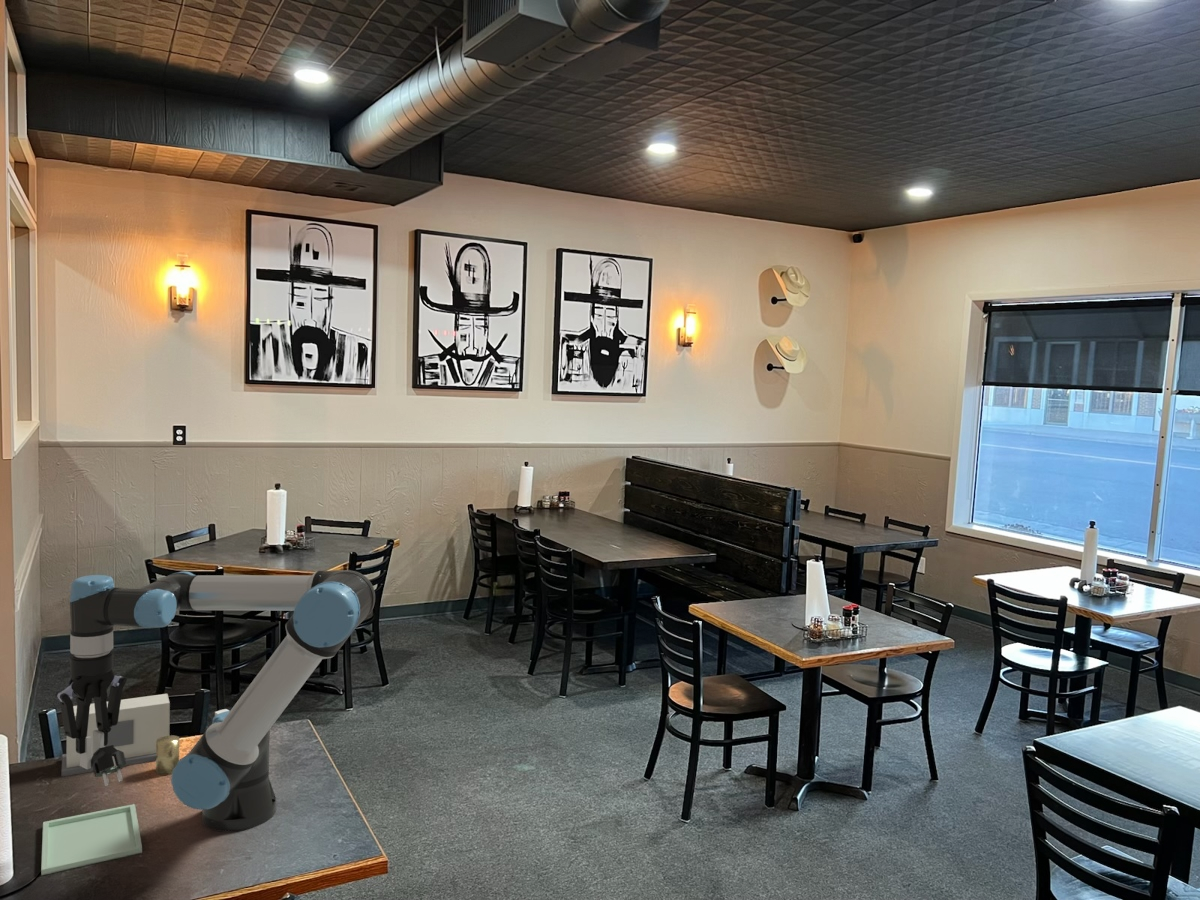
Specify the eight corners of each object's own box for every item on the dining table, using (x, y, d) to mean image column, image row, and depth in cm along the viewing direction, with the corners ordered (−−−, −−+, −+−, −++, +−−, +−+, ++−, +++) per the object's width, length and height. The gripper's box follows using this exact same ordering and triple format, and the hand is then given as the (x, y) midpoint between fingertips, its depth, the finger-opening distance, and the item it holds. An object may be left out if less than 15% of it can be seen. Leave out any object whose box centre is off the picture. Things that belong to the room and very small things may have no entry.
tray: (142, 854, 171) (142, 847, 171) (41, 877, 162) (41, 869, 162) (134, 810, 188) (134, 803, 188) (43, 828, 179) (43, 821, 179)
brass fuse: (183, 770, 208) (183, 738, 207) (164, 778, 204) (164, 745, 203) (171, 765, 211) (171, 733, 210) (151, 772, 206) (152, 740, 206)
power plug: (102, 760, 178) (125, 738, 172) (111, 795, 175) (134, 774, 169) (73, 768, 173) (95, 745, 167) (81, 804, 171) (104, 782, 165)
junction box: (170, 743, 223) (171, 691, 222) (174, 758, 214) (174, 704, 213) (62, 760, 210) (62, 705, 209) (61, 777, 202) (61, 720, 201)
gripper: (118, 640, 181) (117, 747, 182) (42, 657, 168) (43, 773, 170) (138, 647, 177) (138, 756, 179) (63, 665, 164) (63, 783, 166)
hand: (91, 764), depth 174 cm, fingers closed on power plug, 2 cm apart
